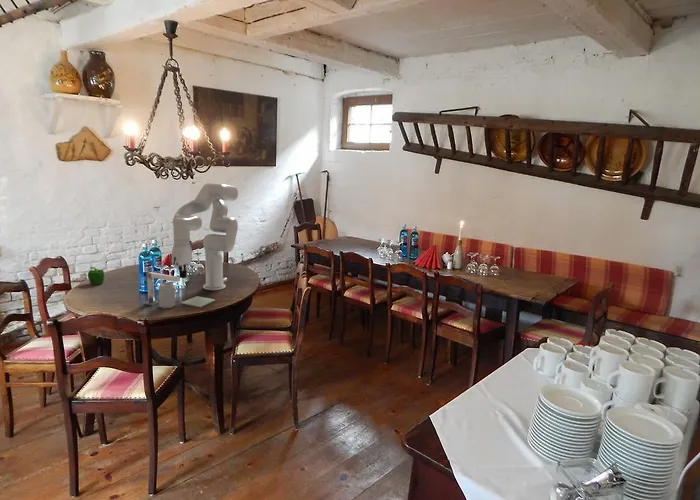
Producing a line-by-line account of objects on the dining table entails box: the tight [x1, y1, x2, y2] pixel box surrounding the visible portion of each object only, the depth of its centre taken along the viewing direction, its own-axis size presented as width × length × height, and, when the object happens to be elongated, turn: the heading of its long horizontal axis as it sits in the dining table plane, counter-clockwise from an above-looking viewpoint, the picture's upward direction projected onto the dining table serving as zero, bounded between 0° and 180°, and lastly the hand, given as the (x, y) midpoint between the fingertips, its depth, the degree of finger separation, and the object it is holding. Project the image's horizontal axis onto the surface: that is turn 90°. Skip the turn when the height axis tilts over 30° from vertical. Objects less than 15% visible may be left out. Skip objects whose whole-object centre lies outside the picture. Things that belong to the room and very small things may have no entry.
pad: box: [181, 295, 216, 308], centre depth 238 cm, size 12×12×1 cm
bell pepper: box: [87, 266, 105, 286], centre depth 259 cm, size 8×8×10 cm
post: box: [143, 276, 159, 306], centre depth 231 cm, size 5×5×14 cm
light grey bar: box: [146, 271, 181, 283], centre depth 226 cm, size 20×4×2 cm, turn 69°
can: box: [158, 281, 176, 309], centre depth 228 cm, size 8×8×12 cm
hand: (182, 277), depth 229 cm, fingers closed
